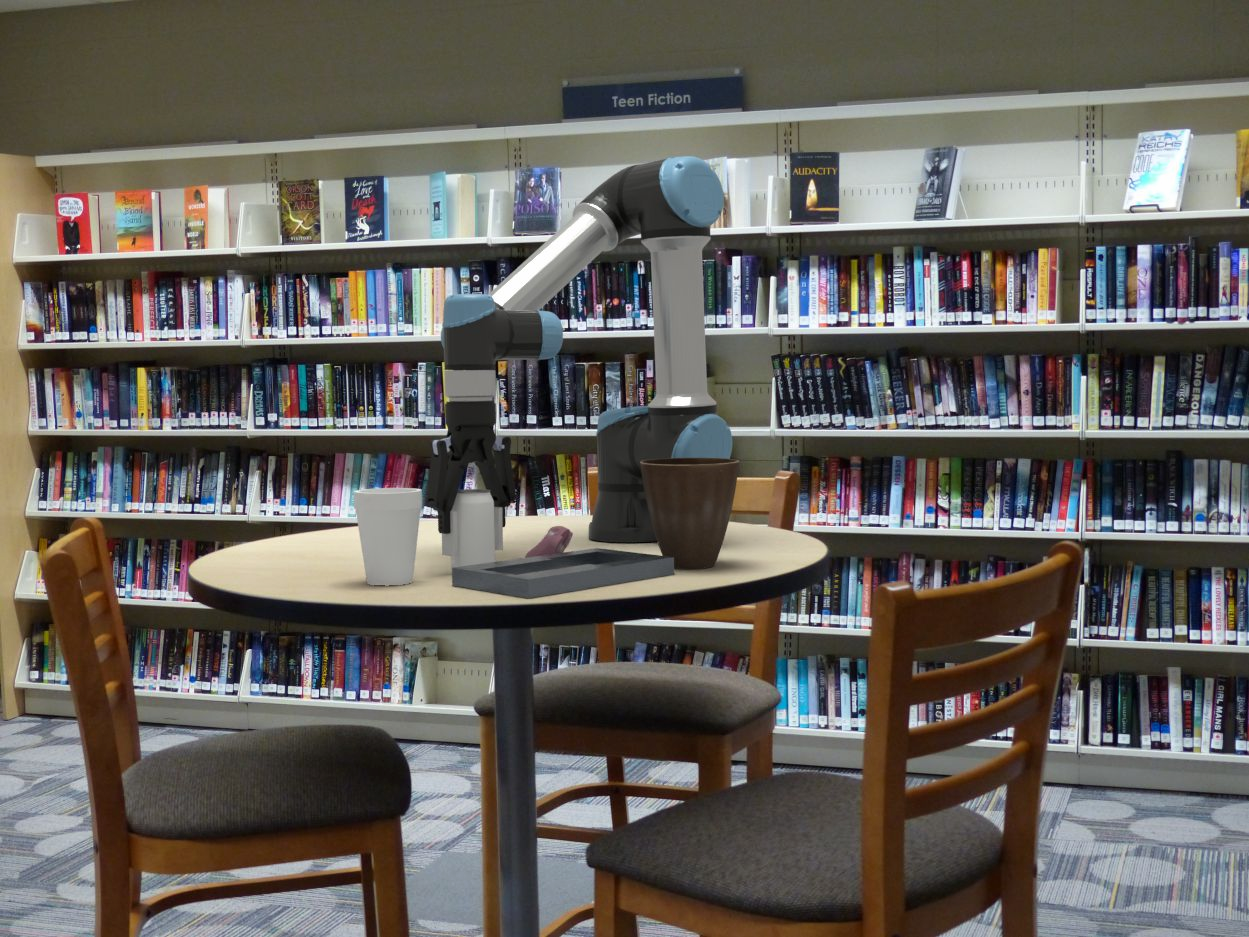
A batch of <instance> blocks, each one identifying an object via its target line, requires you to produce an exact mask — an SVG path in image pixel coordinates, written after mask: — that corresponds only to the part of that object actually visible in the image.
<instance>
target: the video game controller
mask: <svg viewBox="0 0 1249 937" xmlns="http://www.w3.org/2000/svg"><path fill="white" fill-rule="evenodd" d="M573 535H574V533H573V532H572V531H571V530H570V529H569V528H567V527H565V526H563V525H556V526H552V527H550V528H549V529H548V531H547V533H546V534H545V535H544V536H543V538H542V539H541V541H540V542H539V543H537V545H535V546H534V547H533V548H531V549H530V550H529V551H527V553H526V554H525V557H524V558H527V557H535V556H542V555H549V554H556V553H564V552H565V550H566V549H567V548H568V546H569V544H570V542H571V540H572V537H573Z"/></svg>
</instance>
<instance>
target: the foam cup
mask: <svg viewBox="0 0 1249 937" xmlns="http://www.w3.org/2000/svg"><path fill="white" fill-rule="evenodd" d="M422 507H423V489H421V488H413V487H385V488H383V487H381V488H380V487H379V488H377V487H376V488H365V489H364V488H363V489H359V490H354V491H353V509H355V515H356V520H357V526H358V532H359V540H360V546H361V552H362V559H363V565H364V572H365V573H364V574H365V579H366V580H367V581H366V584H367V585H369V584H370V585H369V586H374V585H385V586H384V587H390V586H389V585H398V586H403V584H405V585H409V583H410V584H412V583H413V580H414V579H413V578H414V574H415V563H416V554H417V545H418V544H417V543H418V536H419V526H420V518H421V508H422Z"/></svg>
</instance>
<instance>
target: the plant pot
mask: <svg viewBox="0 0 1249 937" xmlns="http://www.w3.org/2000/svg"><path fill="white" fill-rule="evenodd" d="M640 465H641V472H642V479H643V485H644V490H645V496H646V501H647V505H648V510H649V514H650V518H651V522H652V525H653V529H654V532H655V535H656V539H657V541H656V542H657V543H658V547H659V548H658V549H659V550H660V553H661V556H668V557H674V569H676V570H677V569H678V570H701V569H709V568H713V567H714V566H716V562H717V560H718V558H719V555H720V553H721V549H722V547H723V546H722V545H723V542H724V540H725V537H726V532H727V529H728V526H729V522H730V517H731V513H732V509H733V505H734V498H735V494H736V490H737V482H738V476H739V468H740V466H739V465H740V460H739V459H735V458H730V459H727V458H664V459H651V460H643V461H641V462H640Z"/></svg>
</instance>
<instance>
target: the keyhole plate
mask: <svg viewBox="0 0 1249 937" xmlns="http://www.w3.org/2000/svg"><path fill="white" fill-rule="evenodd" d="M672 575H675V568H674V557H668V556H662V555H661V554H660V555H658V554H651V553H643V552H633V551H624V550H617V549H611V548H610V549H607V548H599V547H595V548H587V549H579V550H570V551H567V552H565V551H564V552H563V553H556V554H549V555H542V556H535V557H527V558H525V557H521V558H520V557H519V558H514V559H513V558H512V559H508V560H500V561H499V560H498V561H495V562H491V563H483V564H476V565H469V566H461V567H454V568H452V567H451V582H452V583H451V584H452V586H453V587H457V588H458V587H459V588H465V589H469V590H476V591H480V592H481V591H483V592H486V593H487V592H488V593H495V594H499V595H506V596H512V597H517V598H524V599H534V598H541V597H548V596H551V595H553V596H554V595H558V594H563V593H569V592H575V591H582V590H587V589H594V588H600V587H605V586H613V585H617V584H623V583H630V582H636V581H637V582H638V581H642V580H648V579H656V578H660V577H666V576H672Z"/></svg>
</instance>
